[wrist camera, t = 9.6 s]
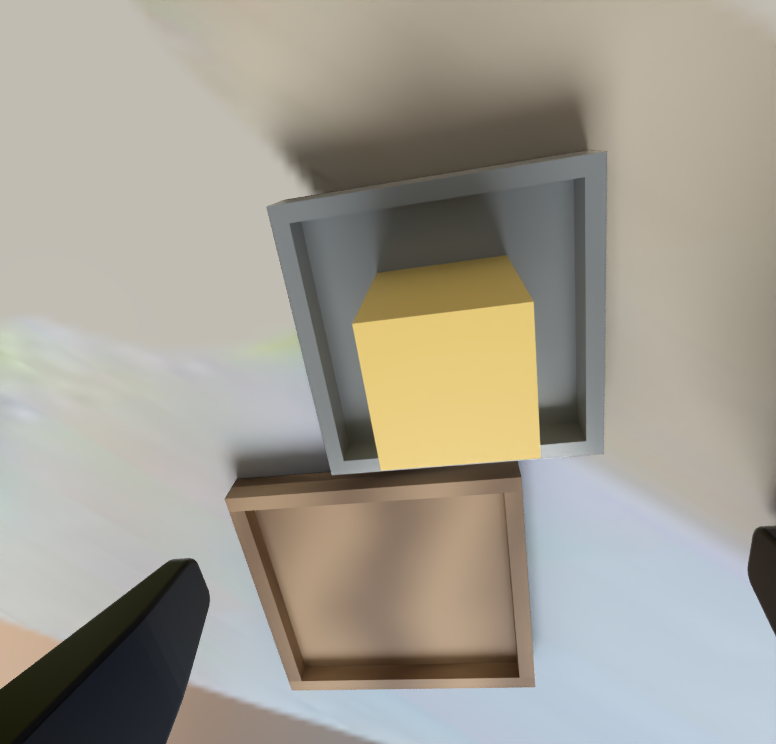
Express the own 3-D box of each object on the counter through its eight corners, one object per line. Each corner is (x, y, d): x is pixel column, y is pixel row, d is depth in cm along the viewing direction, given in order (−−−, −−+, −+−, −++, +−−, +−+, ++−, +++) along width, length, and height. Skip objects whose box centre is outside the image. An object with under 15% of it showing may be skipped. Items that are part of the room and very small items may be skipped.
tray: (516, 457, 21) (521, 477, 20) (530, 660, 26) (535, 687, 25) (236, 479, 23) (224, 499, 22) (298, 665, 28) (291, 690, 27)
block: (506, 255, 17) (533, 301, 12) (514, 374, 19) (540, 458, 14) (376, 273, 18) (352, 324, 13) (396, 386, 20) (380, 470, 15)
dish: (588, 149, 16) (607, 151, 14) (588, 426, 20) (603, 454, 19) (284, 200, 18) (266, 206, 16) (340, 447, 22) (331, 475, 20)
